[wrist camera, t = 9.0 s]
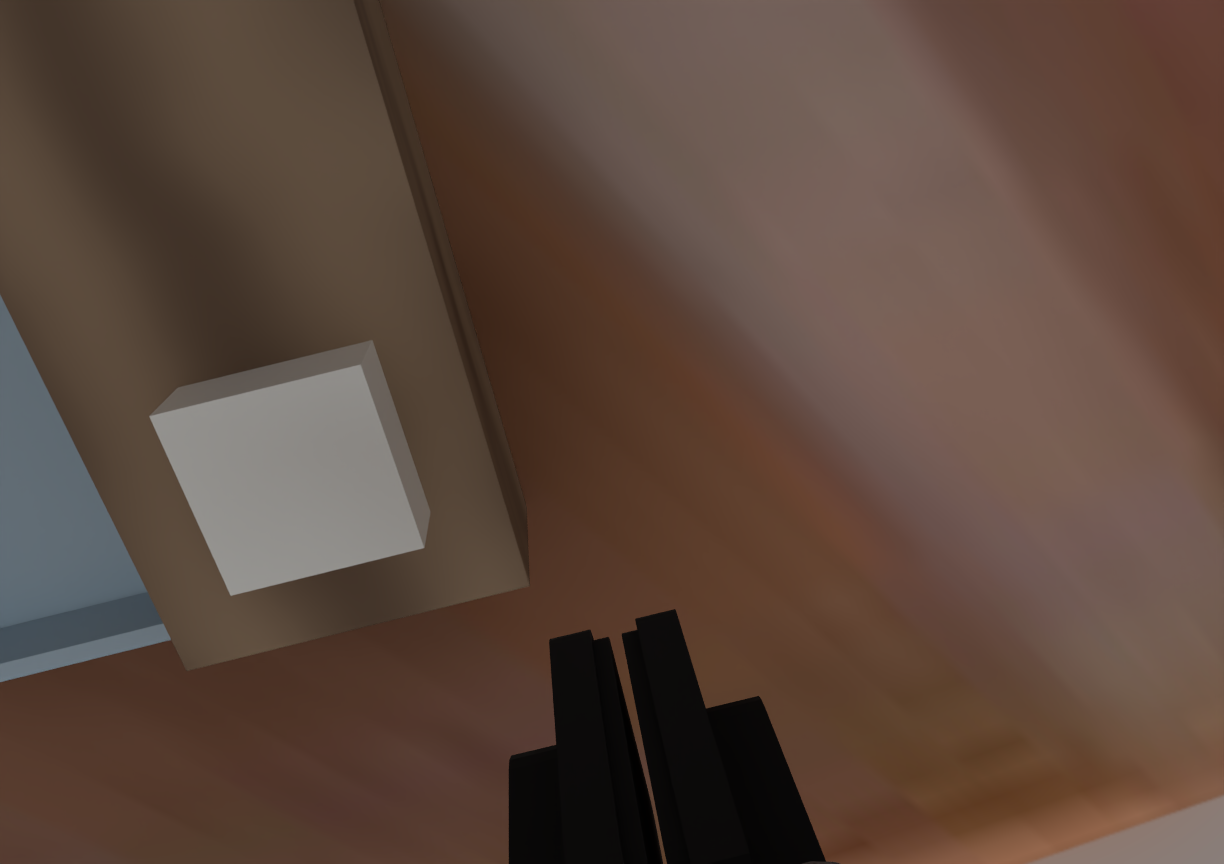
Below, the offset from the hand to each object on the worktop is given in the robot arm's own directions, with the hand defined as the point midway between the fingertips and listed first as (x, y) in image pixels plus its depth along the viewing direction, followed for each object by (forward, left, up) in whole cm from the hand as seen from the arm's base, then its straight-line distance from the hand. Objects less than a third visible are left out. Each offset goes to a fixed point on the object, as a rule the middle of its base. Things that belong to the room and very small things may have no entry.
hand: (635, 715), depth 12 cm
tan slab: (+8, -4, -18) cm, 20 cm away
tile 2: (+7, 0, -13) cm, 15 cm away
